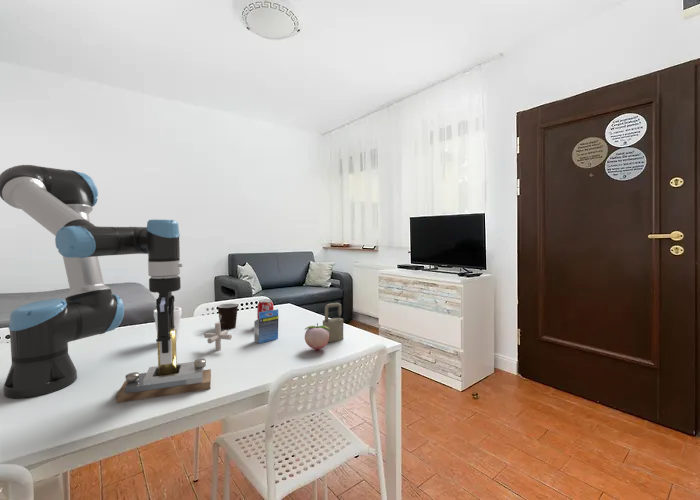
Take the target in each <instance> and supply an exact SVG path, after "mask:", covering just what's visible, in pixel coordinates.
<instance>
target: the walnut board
mask: <svg viewBox="0 0 700 500" xmlns="http://www.w3.org/2000/svg"><path fill="white" fill-rule="evenodd" d="M211 379H212V370H211V368H209V369H204V371H203V381H202V383H196V384H189V385H182V386H175V387H168V388H162V389H155V390H148V391H141V392H134V393H127V394H126V391H125V388H126V386H127V384H128V383H126V379H125V380H124V382H123V383H122V385H121V387H120V388H119V390H118V392H117V394H116V395H115V396H116V398H115V399H116V400H115V402H116V404H119V403H124V402H125V403H126V402H132V401H139V400H140V401H141V400H145V399H152V398H153V399H154V398H159V397H164V396H172V395H177V394H186V393H191V392H197V391H204V390H205V391H206V390H211V381H212V380H211Z"/></svg>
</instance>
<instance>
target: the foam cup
mask: <svg viewBox="0 0 700 500" xmlns="http://www.w3.org/2000/svg"><path fill="white" fill-rule="evenodd" d="M182 310H183V309H182V307H180V306H179V307H178V306H174V329H175V330H176V344H177V343H178V341H179V334H180V325H181V324H180V323H181V318H182V315H183V314H182ZM153 318H154V322H155V323H154V324H155V328H156V329H155V330H156V333H157V332H158V320H157V308H156V309H154V310H153Z"/></svg>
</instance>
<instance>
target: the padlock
mask: <svg viewBox="0 0 700 500" xmlns="http://www.w3.org/2000/svg"><path fill="white" fill-rule="evenodd" d="M333 307H337V314H338V317H333V318H329V309H330V308H333ZM341 316H342V304H341V303H340V302H332V303H327V304H325V306H324V320H322V326H326V327H328V328H329V329H330V330H329V329H327V330H328V331H329V341H328V343H334V342H339V341H341V340H344V318H341Z"/></svg>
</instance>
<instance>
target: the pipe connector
mask: <svg viewBox="0 0 700 500" xmlns="http://www.w3.org/2000/svg"><path fill="white" fill-rule="evenodd" d="M221 330H222V329H221V326H220V321H217V322H215V323H214V332H213V333H212V332H205V333H204V334H203V336H204V338H205V339H207V343H208V344H212V343H214V342H215V345H214V346H215V351H216V352H218V351H221V350H222V340H228V341H229V340H232V334H228V330H224V329H223V331H221Z"/></svg>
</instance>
